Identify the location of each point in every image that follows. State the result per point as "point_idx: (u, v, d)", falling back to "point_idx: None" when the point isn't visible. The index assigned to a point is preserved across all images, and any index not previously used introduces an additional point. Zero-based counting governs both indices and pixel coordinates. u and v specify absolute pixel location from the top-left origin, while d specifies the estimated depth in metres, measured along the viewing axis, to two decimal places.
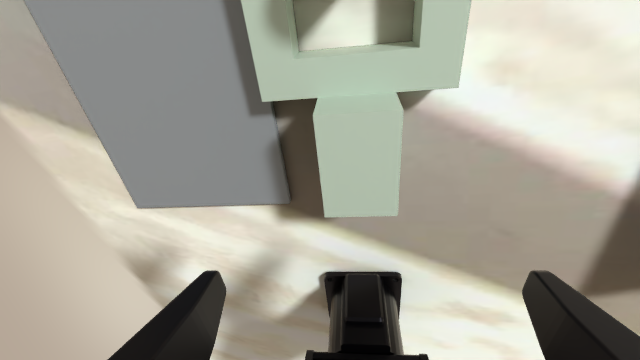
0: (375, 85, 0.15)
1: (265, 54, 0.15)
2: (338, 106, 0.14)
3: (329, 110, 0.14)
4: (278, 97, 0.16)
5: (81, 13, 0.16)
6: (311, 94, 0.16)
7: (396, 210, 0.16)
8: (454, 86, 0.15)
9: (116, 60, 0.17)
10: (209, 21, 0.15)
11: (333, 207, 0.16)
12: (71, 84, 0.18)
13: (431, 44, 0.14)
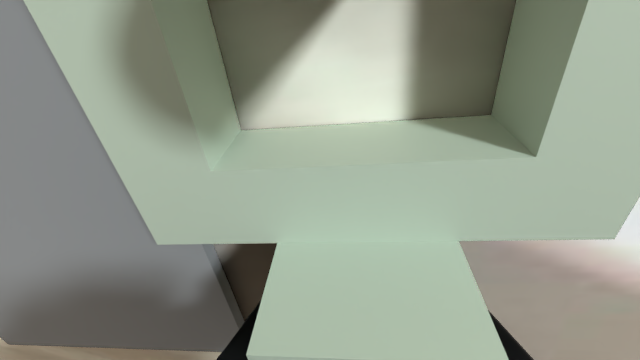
0: (410, 227, 0.06)
1: (142, 159, 0.06)
2: (321, 300, 0.06)
3: (295, 323, 0.05)
4: (191, 238, 0.07)
5: None
6: (262, 237, 0.07)
7: None
8: (605, 236, 0.06)
9: None
10: (27, 72, 0.07)
11: None
12: None
13: (570, 150, 0.05)
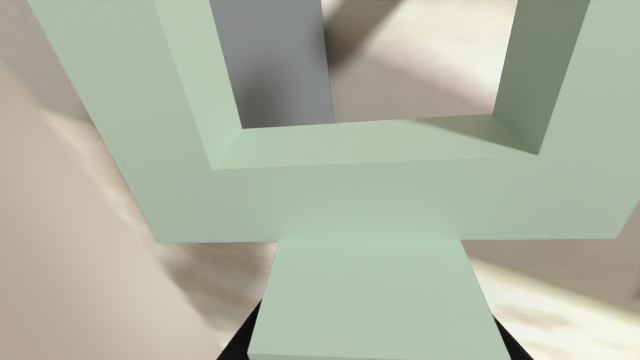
0: (412, 226, 0.06)
1: (144, 158, 0.06)
2: (322, 298, 0.06)
3: (296, 322, 0.05)
4: (192, 237, 0.07)
5: None
6: (263, 235, 0.07)
7: None
8: (607, 235, 0.06)
9: None
10: (273, 20, 0.15)
11: None
12: None
13: (572, 148, 0.05)
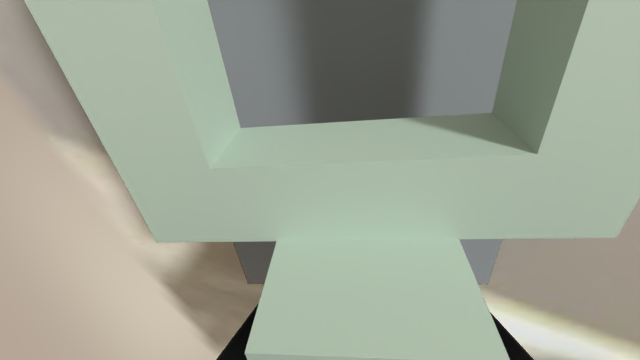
0: (410, 225, 0.06)
1: (141, 157, 0.06)
2: (321, 298, 0.06)
3: (294, 322, 0.05)
4: (190, 236, 0.07)
5: None
6: (262, 235, 0.07)
7: None
8: (607, 234, 0.06)
9: (280, 75, 0.10)
10: (485, 5, 0.08)
11: None
12: None
13: (572, 147, 0.05)
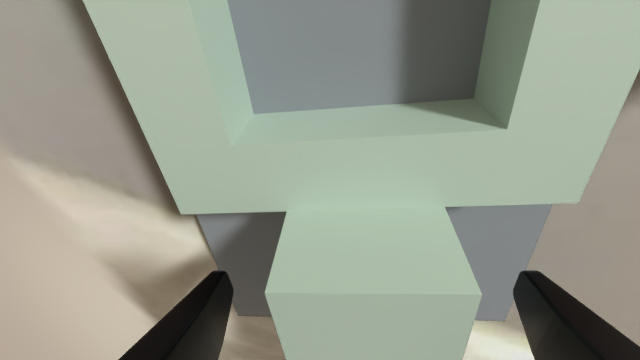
0: (403, 194, 0.07)
1: (172, 135, 0.07)
2: (326, 253, 0.07)
3: (304, 270, 0.06)
4: (211, 208, 0.08)
5: None
6: (274, 205, 0.08)
7: None
8: (570, 200, 0.07)
9: (269, 94, 0.08)
10: None
11: None
12: None
13: (535, 123, 0.06)
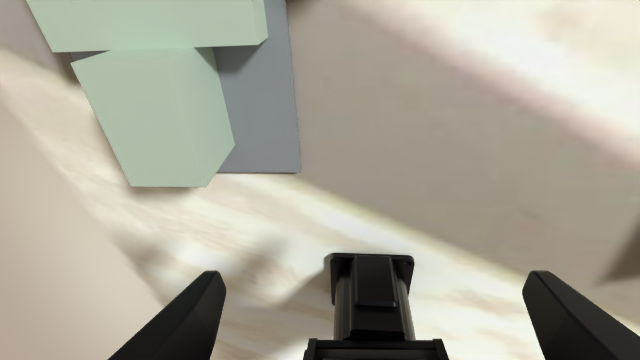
0: (169, 38, 0.13)
1: None
2: (113, 56, 0.13)
3: (96, 59, 0.12)
4: (68, 47, 0.14)
5: None
6: (103, 45, 0.14)
7: (202, 181, 0.15)
8: (253, 43, 0.13)
9: None
10: None
11: (135, 175, 0.15)
12: None
13: None
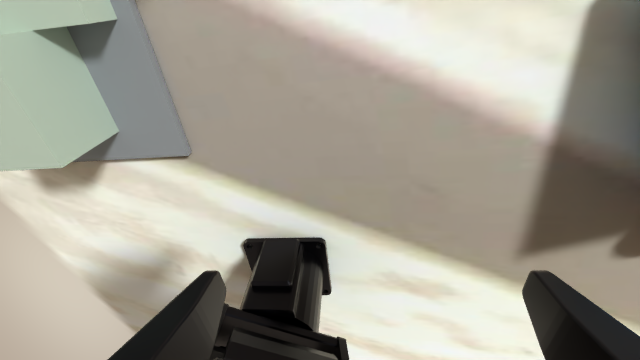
0: (7, 22, 0.14)
1: None
2: None
3: None
4: None
5: None
6: None
7: (56, 161, 0.15)
8: (84, 22, 0.14)
9: None
10: None
11: None
12: None
13: None
